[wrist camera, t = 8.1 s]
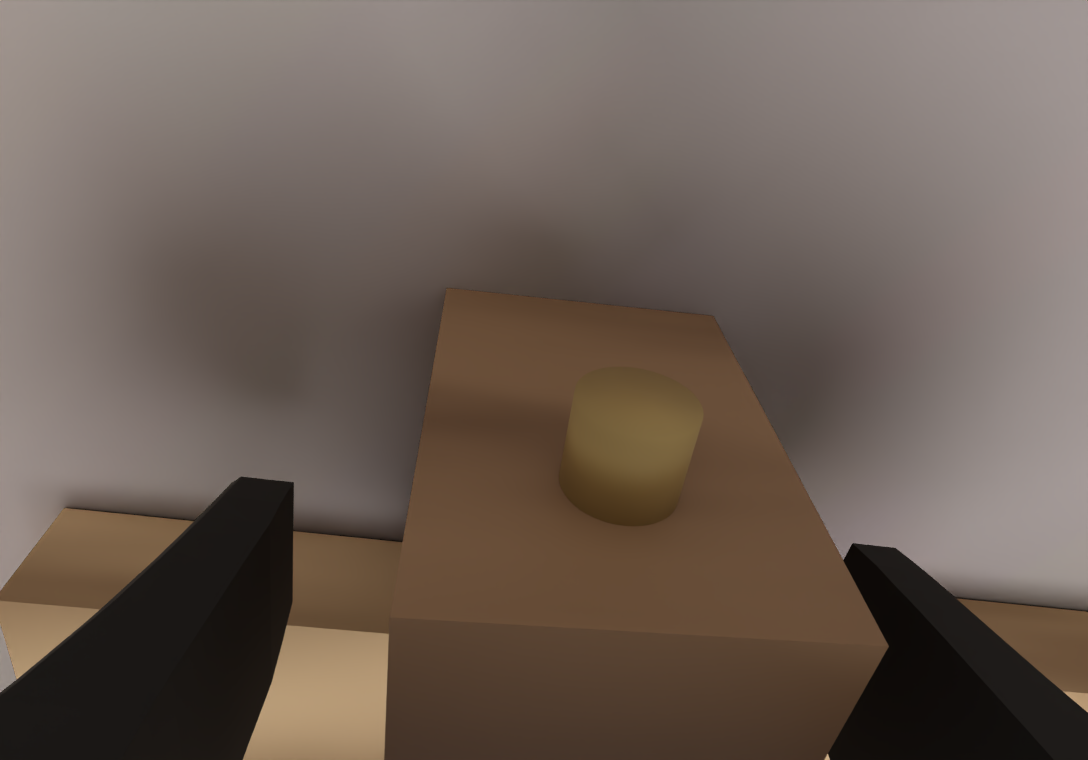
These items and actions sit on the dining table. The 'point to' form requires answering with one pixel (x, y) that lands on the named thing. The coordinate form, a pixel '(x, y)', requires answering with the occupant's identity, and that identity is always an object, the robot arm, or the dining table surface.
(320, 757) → the board
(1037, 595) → the dining table surface
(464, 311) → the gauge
